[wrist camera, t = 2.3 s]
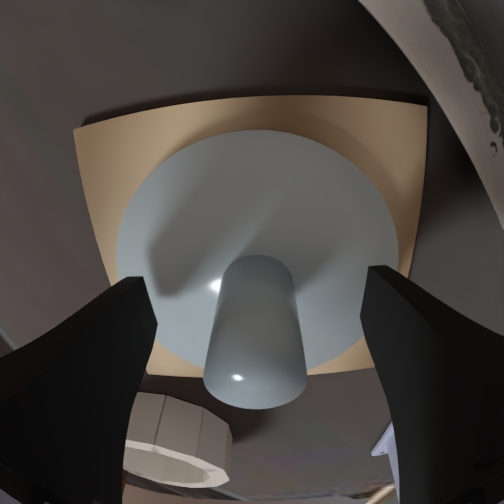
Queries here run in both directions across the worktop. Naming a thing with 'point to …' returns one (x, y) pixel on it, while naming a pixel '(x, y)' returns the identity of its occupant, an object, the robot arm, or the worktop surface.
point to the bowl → (177, 443)
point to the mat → (257, 117)
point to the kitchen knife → (453, 78)
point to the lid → (256, 258)
